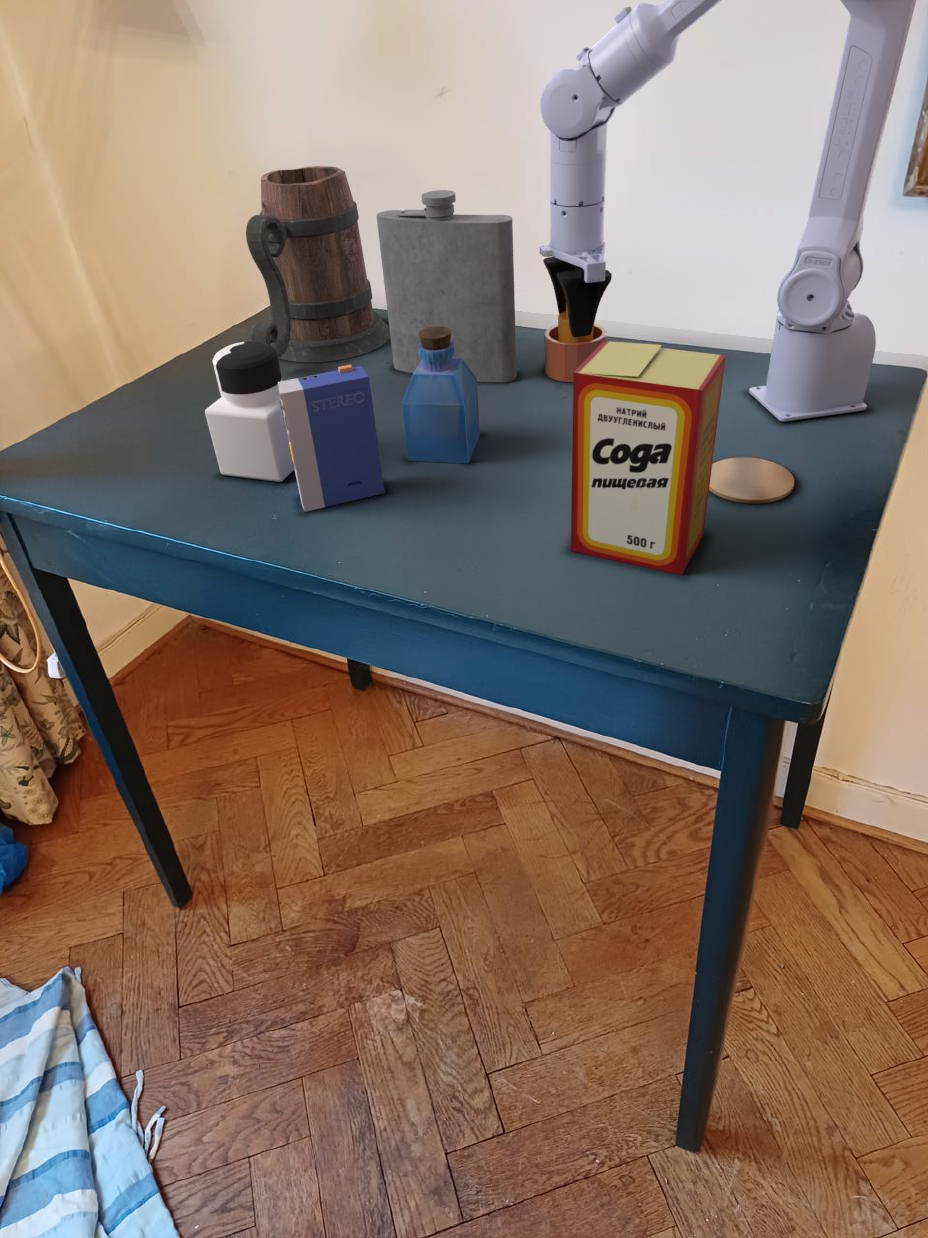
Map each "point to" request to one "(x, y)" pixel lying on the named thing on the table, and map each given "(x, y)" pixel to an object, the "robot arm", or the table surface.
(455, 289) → the hip flask
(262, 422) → the medicine bottle
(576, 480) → the baking soda box
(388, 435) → the table surface
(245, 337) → the table surface
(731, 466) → the coaster
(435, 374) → the perfume bottle
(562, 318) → the bottle
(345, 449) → the walkman
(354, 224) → the tankard
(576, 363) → the cup
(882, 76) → the robot arm
